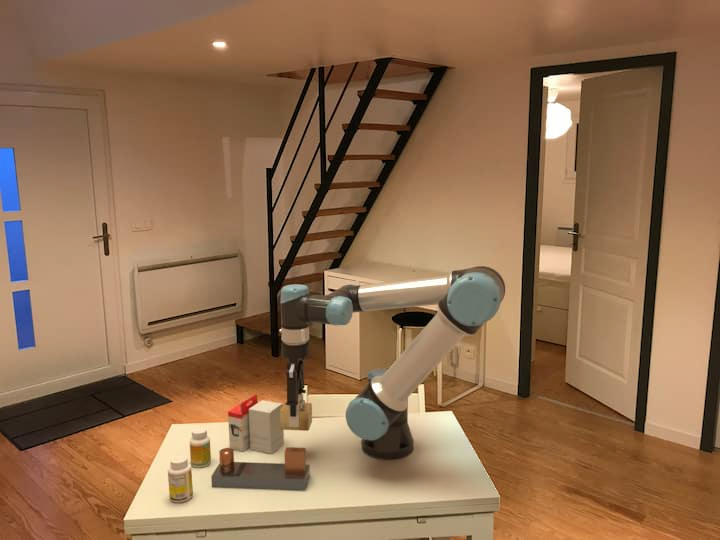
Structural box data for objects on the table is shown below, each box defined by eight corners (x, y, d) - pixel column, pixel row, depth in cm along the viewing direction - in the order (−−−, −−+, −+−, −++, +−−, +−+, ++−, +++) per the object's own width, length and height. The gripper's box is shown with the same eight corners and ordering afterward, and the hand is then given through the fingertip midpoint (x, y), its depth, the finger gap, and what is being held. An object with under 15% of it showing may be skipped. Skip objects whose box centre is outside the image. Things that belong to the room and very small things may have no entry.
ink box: (246, 436, 178) (244, 390, 176) (259, 439, 176) (258, 393, 173) (228, 448, 170) (226, 401, 168) (243, 452, 168) (241, 403, 166)
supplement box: (284, 443, 173) (283, 403, 171) (270, 454, 167) (269, 412, 165) (263, 439, 177) (262, 399, 174) (249, 449, 170) (247, 408, 168)
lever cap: (312, 421, 167) (311, 398, 166) (308, 430, 161) (308, 406, 160) (284, 420, 168) (283, 397, 167) (279, 429, 162) (279, 405, 161)
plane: (309, 475, 156) (309, 443, 154) (304, 490, 148) (304, 457, 147) (221, 471, 157) (219, 440, 156) (211, 487, 150) (210, 454, 148)
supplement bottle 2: (205, 469, 159) (203, 435, 157) (187, 467, 160) (185, 433, 158) (214, 459, 164) (212, 426, 163) (196, 457, 165) (194, 425, 164)
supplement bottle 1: (184, 488, 149) (182, 451, 147) (197, 496, 146) (195, 458, 144) (165, 498, 145) (162, 459, 143) (177, 506, 141) (175, 466, 140)
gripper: (288, 331, 170) (289, 406, 174) (273, 351, 151) (275, 435, 155) (314, 332, 169) (314, 407, 173) (302, 352, 151) (303, 436, 155)
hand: (296, 420), depth 164 cm, fingers closed on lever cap, 6 cm apart
